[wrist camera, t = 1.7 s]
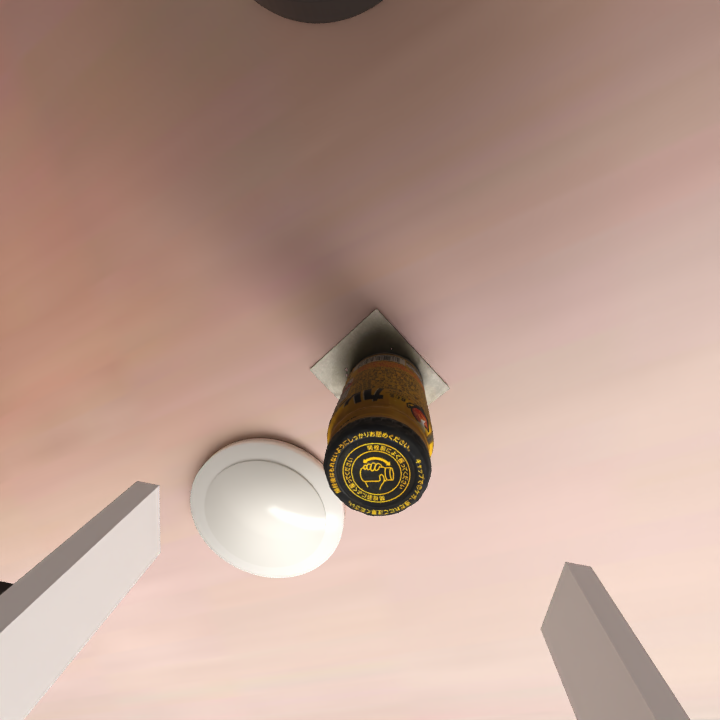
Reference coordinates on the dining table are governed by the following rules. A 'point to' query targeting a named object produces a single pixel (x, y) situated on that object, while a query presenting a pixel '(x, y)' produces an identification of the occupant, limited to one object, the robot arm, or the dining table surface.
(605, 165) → the dining table surface
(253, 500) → the plate
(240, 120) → the dining table surface
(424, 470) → the condiment
